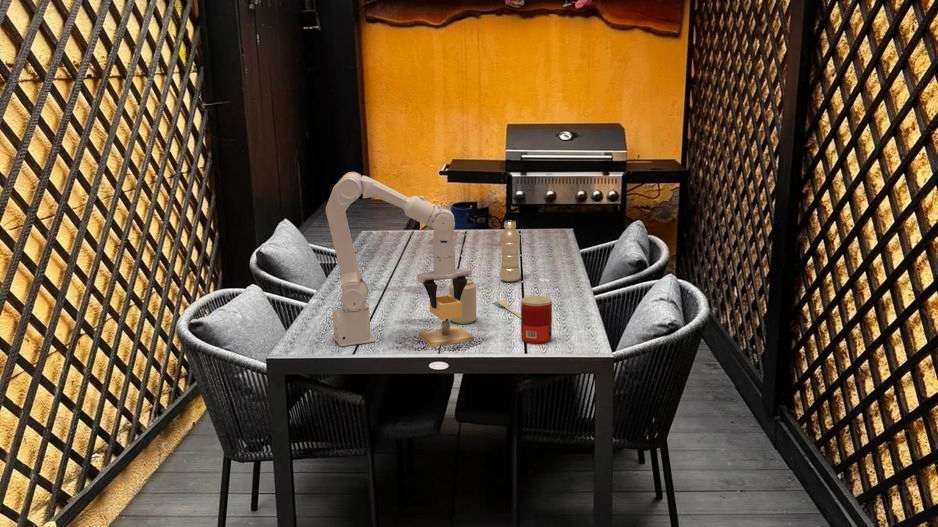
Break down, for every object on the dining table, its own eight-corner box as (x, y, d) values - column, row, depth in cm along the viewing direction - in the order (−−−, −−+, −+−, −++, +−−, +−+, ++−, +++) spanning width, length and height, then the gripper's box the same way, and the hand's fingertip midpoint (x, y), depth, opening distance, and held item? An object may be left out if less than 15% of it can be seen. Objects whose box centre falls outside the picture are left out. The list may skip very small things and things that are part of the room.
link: (441, 319, 227) (440, 304, 226) (429, 311, 235) (429, 297, 234) (461, 317, 229) (461, 302, 228) (450, 309, 237) (449, 294, 236)
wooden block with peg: (431, 346, 227) (430, 330, 226) (418, 335, 236) (418, 319, 235) (474, 340, 231) (473, 324, 230) (459, 330, 240) (459, 314, 239)
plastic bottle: (498, 279, 294) (498, 220, 290) (518, 278, 295) (518, 219, 290) (501, 284, 288) (500, 223, 284) (521, 283, 289) (521, 223, 284)
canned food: (556, 342, 229) (556, 302, 226) (527, 345, 226) (527, 304, 224) (545, 334, 236) (545, 294, 233) (517, 337, 234) (517, 297, 231)
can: (461, 315, 254) (460, 275, 251) (481, 320, 249) (481, 279, 246) (444, 321, 248) (443, 280, 245) (464, 326, 244) (464, 284, 241)
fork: (523, 329, 249) (523, 320, 248) (489, 304, 266) (490, 295, 265) (531, 328, 250) (532, 319, 249) (498, 303, 267) (498, 294, 266)
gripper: (423, 261, 222) (424, 313, 225) (475, 255, 228) (476, 306, 231) (413, 256, 229) (415, 306, 232) (465, 250, 234) (466, 299, 237)
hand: (445, 306), depth 232 cm, fingers closed on link, 6 cm apart
